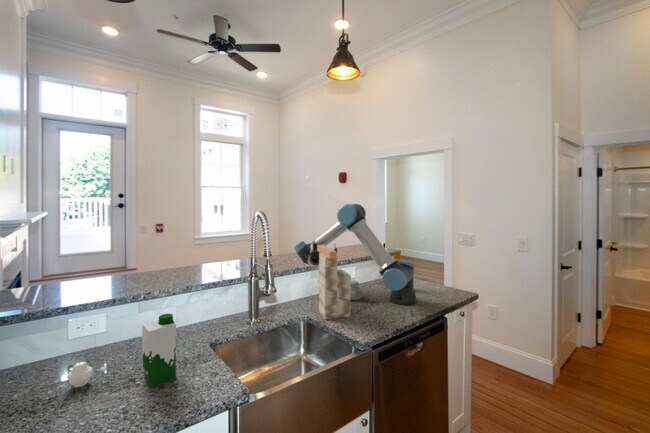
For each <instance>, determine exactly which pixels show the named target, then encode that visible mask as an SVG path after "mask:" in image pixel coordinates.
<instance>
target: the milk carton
mask: <svg viewBox="0 0 650 433" xmlns="http://www.w3.org/2000/svg"><path fill="white" fill-rule="evenodd" d="M176 329H177V323H176V322H175V321H174V315H173V314H172V313H164V314H160V315H159V316H158V319H156V320H152V321H150V322H144V323H142V324H141V335H142V336H141V341H142V346H141V348H142V369H143V374H144V375H143V376H144V379H145V380H146V382H147V383H148V385H149V386H150V388H151V389H152V388H155V387H158V386H160V385H162V384H166V383H169V382H171V381H173V380H175V379H176V378H177V350H176V349H177V348H176V342H177V340H176V339H177V338H176Z"/></svg>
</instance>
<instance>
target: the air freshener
mask: <svg viewBox="0 0 650 433" xmlns="http://www.w3.org/2000/svg"><path fill="white" fill-rule="evenodd" d="M359 283H360V282H359V281H357V280H351V301H359V300H361V299H362V297H363V296H364V292H363V290H362V289H360V286H359V285H360V284H359Z"/></svg>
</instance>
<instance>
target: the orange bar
mask: <svg viewBox="0 0 650 433" xmlns="http://www.w3.org/2000/svg"><path fill="white" fill-rule="evenodd" d="M330 248H331V247H329V246H324V245H317V251H318V252H320V253H321V254H323V255H325V256H326V257H328V258H330V259H332V258H336V256H337V253H336V251H335V250H332V249H330Z"/></svg>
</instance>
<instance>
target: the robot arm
mask: <svg viewBox="0 0 650 433" xmlns="http://www.w3.org/2000/svg"><path fill="white" fill-rule="evenodd" d="M366 215H367V213H366V208H364V206H362V205H361V204H358V203H352V204H351V203H346V204H343V205H342V206H340V207H339V209H337V214H336V217H337V218H336V219H337V222H336V223H335V224H333V225H332V226H331V227H330V228H328V229H327V230H326V231H324V232H323V233H322V234H321V235H319V236H318V237H317V238H316V239H314V240H313V241H312V242H311V243H306V242H305V241H303V240H302V241H299V242H297V243H296V244H295V245H294V247H293V248H294V251H295V253H297V254H296V255H298V257H299V258H300V260H301V262H302V263H303V264H304V263H306V264H308V265H310V266H312V267H314V268H316V267H318V268H319V253H320V252H318V251H317V245H324V246H326V247H328V245H330V244H331V243H332V242H333V241H335V240H336V239H338V237H340V236H341V235H343V234H344V233H346V231H348V232H349V233H350V232H351V233H353V234H354V235H355V237H356V238H357V239H358V241H359V242H360V243H361V244H362V246H363V247H364V249H365V250H366V251H367V253H368V254H369V256H370V257H371V258H372V259H373V261H374V262H375V264H376V266H378V268H379V270H378V273H379V274H380V276H382V277H381V278H382V284H383V285H384V286H385V287H386V288H387V289H389V290H390V291H389V295H388V300H389V302H390V303H394V304H396V305H404V306H406V305H407V306H408V305H414V304H416V303H417V295H416V293H415V289H414V282H415V281H414V277H415V276H414V275H415V274H414V273H415V264H414V262H413V261H411V260H403V259H400V260H397V259H394V257H392V256H391V255H390V253H389V252H388V250H387V249H386V248H385V247H384V245H383V244H382V243H381V241H380V240H379V238H378V237H377V236H376V235H375V233H374V232H373V230H372V229H371V228H370V227H369V225H368V224H367V218H366ZM336 245H337V244H336V242H333V243H332V245H331V247H329V248H330V249H332V250H335V251H336V254H337V253H338V248H337V246H336Z"/></svg>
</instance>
